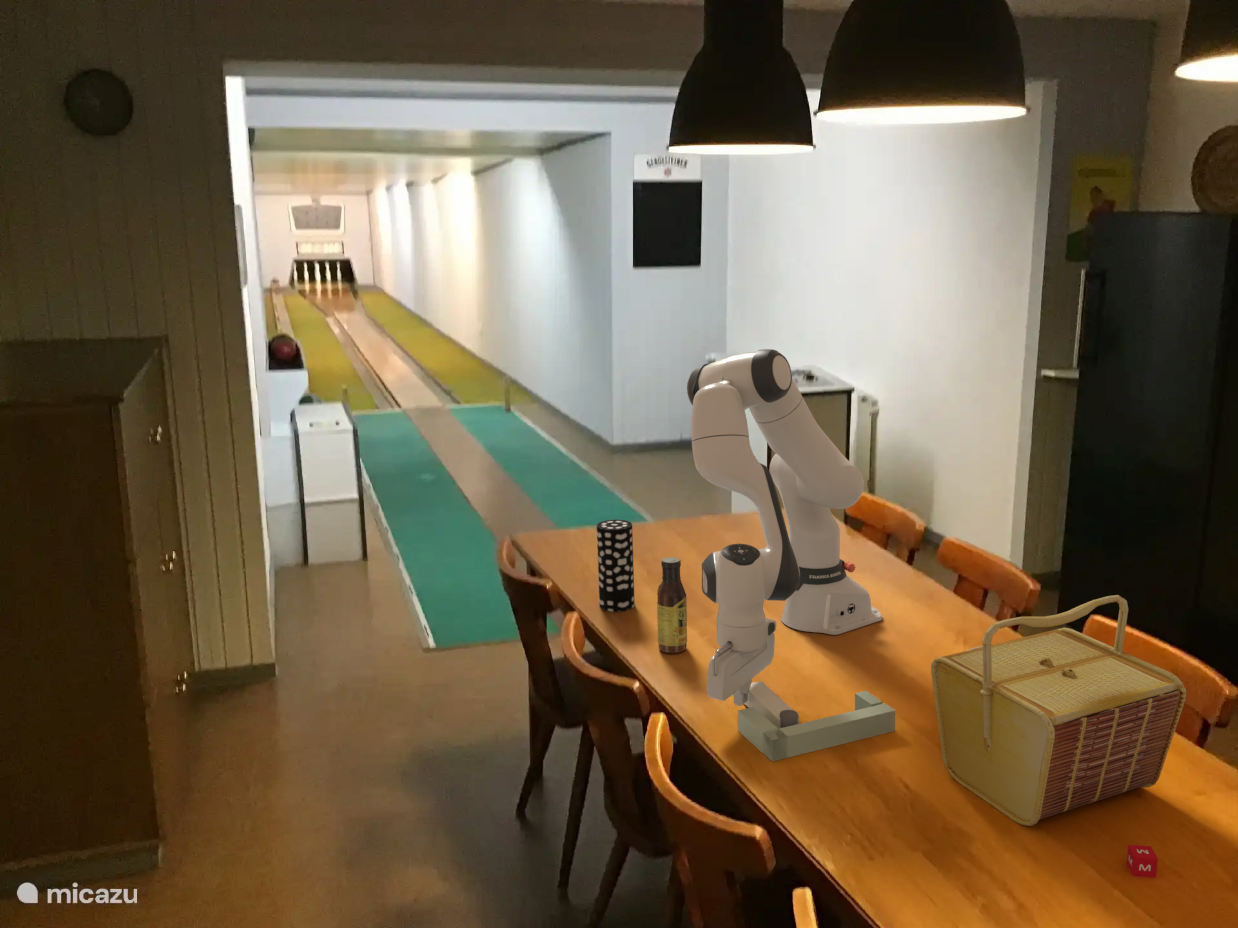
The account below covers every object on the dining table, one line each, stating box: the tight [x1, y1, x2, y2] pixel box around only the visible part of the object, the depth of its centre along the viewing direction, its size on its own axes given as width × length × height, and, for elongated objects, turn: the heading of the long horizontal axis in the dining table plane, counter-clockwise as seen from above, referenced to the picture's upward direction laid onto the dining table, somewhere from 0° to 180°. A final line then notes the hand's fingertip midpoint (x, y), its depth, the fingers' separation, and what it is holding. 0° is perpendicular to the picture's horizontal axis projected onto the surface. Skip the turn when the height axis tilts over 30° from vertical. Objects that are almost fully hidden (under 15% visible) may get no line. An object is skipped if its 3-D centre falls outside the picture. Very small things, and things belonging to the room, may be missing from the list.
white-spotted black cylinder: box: [596, 519, 635, 613], centre depth 251 cm, size 8×8×20 cm
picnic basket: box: [930, 594, 1187, 827], centre depth 167 cm, size 29×26×30 cm
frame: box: [737, 690, 897, 762], centre depth 190 cm, size 25×12×4 cm, turn 112°
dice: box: [1126, 844, 1159, 879], centre depth 148 cm, size 3×3×3 cm
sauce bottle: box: [656, 556, 688, 654], centre depth 225 cm, size 6×6×20 cm
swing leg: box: [743, 680, 800, 729], centre depth 194 cm, size 17×4×4 cm, turn 19°
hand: (740, 702), depth 198 cm, fingers closed
